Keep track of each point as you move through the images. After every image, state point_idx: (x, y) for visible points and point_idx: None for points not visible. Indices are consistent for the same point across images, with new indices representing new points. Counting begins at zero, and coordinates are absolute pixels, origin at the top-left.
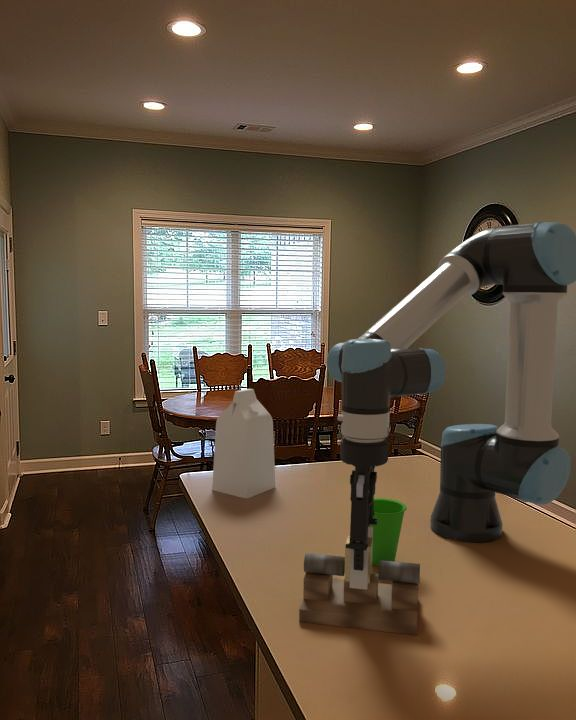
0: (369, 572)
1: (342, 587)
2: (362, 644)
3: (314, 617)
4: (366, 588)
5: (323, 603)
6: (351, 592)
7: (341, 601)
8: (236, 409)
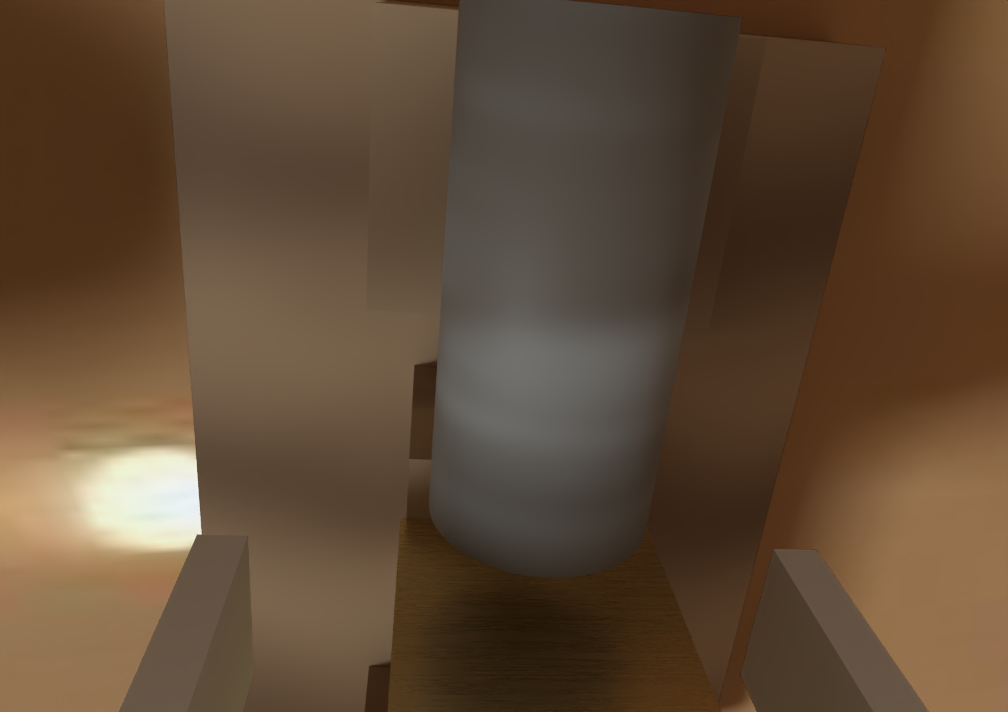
0: (678, 605)
1: (349, 609)
2: (925, 404)
3: None
4: (817, 560)
5: None
6: None
7: None
8: None
